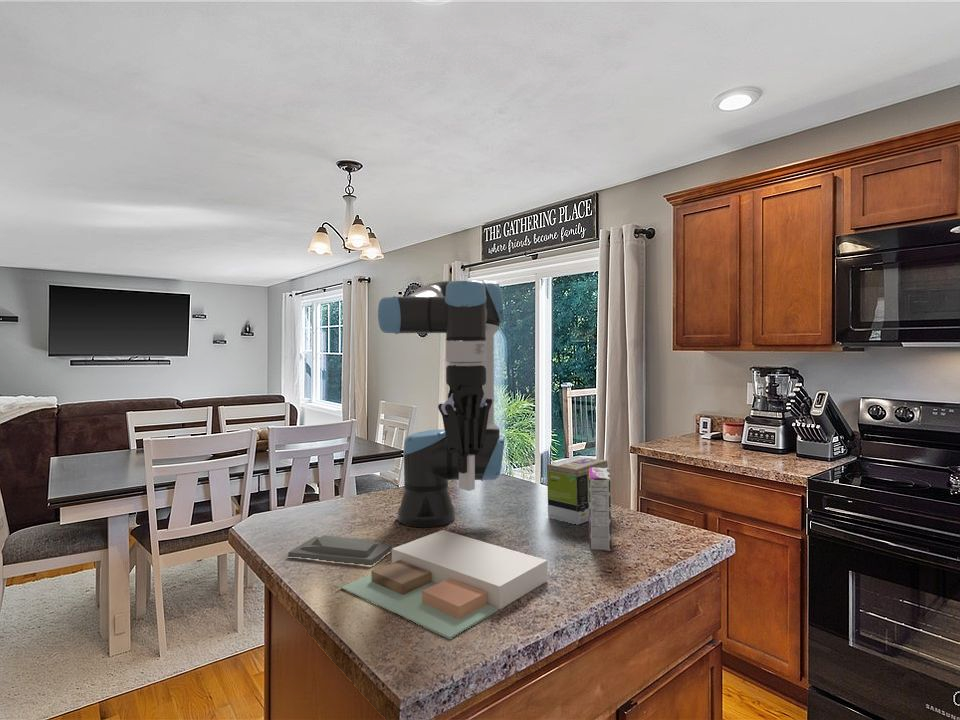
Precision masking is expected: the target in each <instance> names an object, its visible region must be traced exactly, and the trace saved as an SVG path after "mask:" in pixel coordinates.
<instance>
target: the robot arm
mask: <svg viewBox="0 0 960 720" xmlns="http://www.w3.org/2000/svg"><path fill="white" fill-rule="evenodd" d="M412 292H413V293H411V294H409V295H405V296H395V295H394V296H385V297H382V298H381V299H380V300H379V303H378V309H377V317H378V318H377V319H378V325H379V328H380V331H381V332H382V333H385V334H395V335H399V334H427V333H428V334H446V335H445V336H446V337H445V362H446V363H448V365H447V366H446V367H445V374H446V375H445V377H446V378H445V379H446V380H445V381H446V382H445V383H446V385H448V387H449V390H448V393H447V400H446V401H444V403H439V404H438V406H437V409H438V410H439V412H440V414H441V416H442V421H443V427H444V429H429V430H423V431H418V432H415V433H412V434H410V435H407V436H406V438H405V439H404V445H403V453H402V455H403V472H404V473H403V475H404V477H403V479H404V480H403V481H404V482H403V483H404V485H403V489H404V490H403V494H402V498H401V502H400V506H399V507H398V509H397V522H398V523H400V524H401V523H402V525H404V526H407V525H408V527H412V526H413V527H414V528H432V527H440V526H445V525H447V524H449V523H452V522H454V520H455V518H456V517H455V513H456V512H455V511H456V509H455V507H454V506H453V502H452V499H451V495H450V491H449V480H450V481H452V480H453V481H458V489H460V490H464V491H467V492H468V491H469V492H471V491H473V490H475V488H476V482H475V481H481V482H482V481H490V480H497V479H498V478H499V477H500V476H501V472H502V464H503V459H504V458H503V456H504V448H505V440H506V439H505V438H506V437H505V436H504V435H503V434H500V428H499V427H498V425H497V424H495V415H494V414H495V409H494V407H495V400H494V399H495V390H494V389H495V388H494V387H495V381H494V380H495V373H494V371H495V369H494V366H495V365H494V364H495V363H494V361H495V360H494V356H495V354H494V353H495V350H494V349H495V348H494V344H495V342H494V341H495V340H494V339H495V338H494V336H495V334H497V332H498V331H500V324H502V323H504V322H505V312H504V304H503V297H502V291H501V287H500V284H499V283H498V282H497V281H494V280H483V279H482V280H443V281H437V282H433V283H430V284H426V285H423V286H420V287H418V288H417V289H415V290H414V291H412Z"/></svg>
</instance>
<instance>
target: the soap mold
mask: <svg viewBox="0 0 960 720" xmlns="http://www.w3.org/2000/svg"><path fill="white" fill-rule="evenodd" d="M392 548H393V545H392V544H389V543H388V544H387V543H378V542H375V541H373V540H370V539H365V538H364V539H363V538H354V537H344V536H334V535H322V536H313V537H311V538H310V539H308V540H307V541H304V543H302V544H299V546H296V547H295V548H292V549H291V550H289V551H288V553H287V554H288V555H287V558H288V557H301V558H311V559H319V560H326V561H334V562H344V563H354V564H364V565H373V564H374V563H376V562H377V561H379V560H380V559H381V558H382V557H383V556H384V555H386V554H387V553H388V552H390V551H391V550H392Z"/></svg>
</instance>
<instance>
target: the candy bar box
mask: <svg viewBox="0 0 960 720" xmlns="http://www.w3.org/2000/svg"><path fill="white" fill-rule="evenodd" d="M610 473H611V472H610V468H609V467H608V468H595V467H591V468H589V521H588V532H589V534H588V536H589V539H588V540H589V549H590V550H591V551H599V550H602V551H603V552H611V551H612V499H611V498H612V497H611V495H612V494H611V493H612V492H611V486H612V485H611V484H612V483H611V474H610ZM602 551H601V552H602Z"/></svg>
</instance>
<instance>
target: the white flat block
mask: <svg viewBox="0 0 960 720" xmlns="http://www.w3.org/2000/svg"><path fill="white" fill-rule="evenodd" d="M399 560H401V561H403V562H406V563H408V564H411V565H414V566H416V567H419V568H421V569H424V570H427V571H429V572H431V583H433V584H438V583H440V582H443V581H445V580H447V579H449V578H451V579H454V580H456V581H459V582H462V583H464V584H467V585H469V586H472V587H474V588H477V589H480V590H482V591H485V592H487V604H488V605H491V606H493V607H496V608H498V611H499V610H502V609H504V608H505V607H507V606H508V605H510V604H511V603H513V602H515V601H517V600H518V599H519V598H522V597H524V596H525V595H526V594H528V593H529V592H531V591H533V590H535V589H536V588H538V587H540V586H541V585H543V584H545V583H546V582H547V581H548V560H547V559H544V558H541V557H537V556H534V555H530V554H527V553H523V552H520V551H516V550H512V549H509V548H506V547H503V546H499V545H495V544H493V543H489V542H485V541H482V540H479V539H475V538H471V537H468V536H465V535H462V534H457V533H455V532H451V531H447V530H444V529H442V530H441V529H440V530H439V531H435V532H433V533H430V534H428V535H425V536H422V537H419V538H417V539H415V540H412V541H410V542H406V543H403V544H400V545H398V546H396V547H392V552H391V563H393V562H396V561H399Z"/></svg>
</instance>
